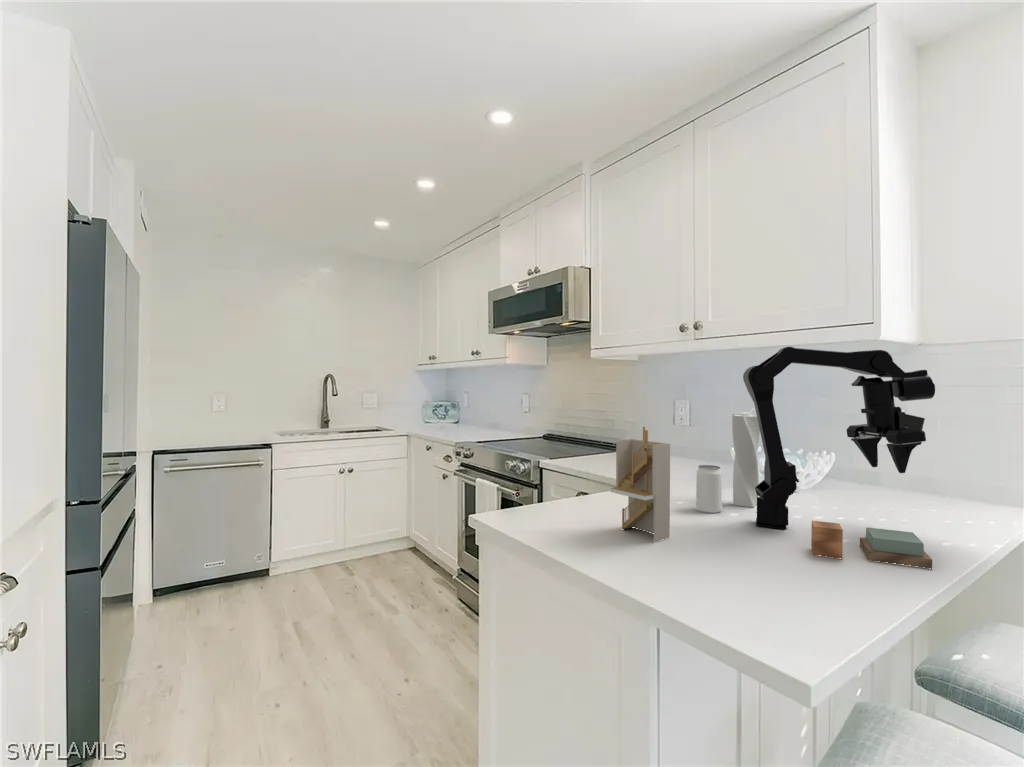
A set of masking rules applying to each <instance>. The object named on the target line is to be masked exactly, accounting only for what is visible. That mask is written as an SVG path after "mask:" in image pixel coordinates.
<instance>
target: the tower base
mask: <svg viewBox="0 0 1024 767" xmlns="http://www.w3.org/2000/svg"><path fill="white" fill-rule="evenodd" d="M859 547H860V549H861V548H862V549H861V551H862V550H863V551H862V553H863V552H864V553H865V554H864V553H863V554H864V556H865V555H866V556H865V558H866V557H867V558H866V559H867V561H868V560H871V561H870V562H873V561H880V562H879V563H881V562H888V563H896V564H904V565H911V566H918V567H925V568H924V569H926V568H931V569H930V570H933V559H932V558H931V556H930V555H929V554H927V553H926V551H925V550H924V556H915V555H907V554H899V553H891V552H883V551H875V550H873V549H872V548H871V546H870V544H869V543H868V541H867V540H866V537H863V536H861V537H859ZM888 563H887V564H888ZM896 564H895V565H896ZM911 566H910V567H911ZM918 567H917V568H918Z"/></svg>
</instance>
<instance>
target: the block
mask: <svg viewBox="0 0 1024 767" xmlns="http://www.w3.org/2000/svg"><path fill="white" fill-rule="evenodd" d="M843 533H844V529H843V527H842V526H841V523H838V522H828V521H822V520H821V521H819V520H811V535H810V536H811V544H810V547H811V548H812V549H811V548H810V549H811V552H812V551H813V552H812V556H813V555H821V556H827V557H833V558H832V559H834V558H841V559H840V560H842V559H843V558H844V557H843V549H844V548H843V546H844V544H843V541H844V536H843V535H844V534H843ZM827 557H826V558H827Z"/></svg>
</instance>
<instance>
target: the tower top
mask: <svg viewBox="0 0 1024 767" xmlns="http://www.w3.org/2000/svg"><path fill="white" fill-rule="evenodd" d="M865 538H866V540H867V541H868V543H869V544H870V546H871V548H872V549H873V550H875V551H883V552H891V553H899V554H907V555H915V556H924V551H925V548H924V547H925V544H924V542H923V541H922V540H921V539H920V538H919V537H918V536H917V535H916V534H915V533H914V532H911V531H903V530H893V529H885V528H876V527H875V528H874V527H868V526H867V527H865Z"/></svg>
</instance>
